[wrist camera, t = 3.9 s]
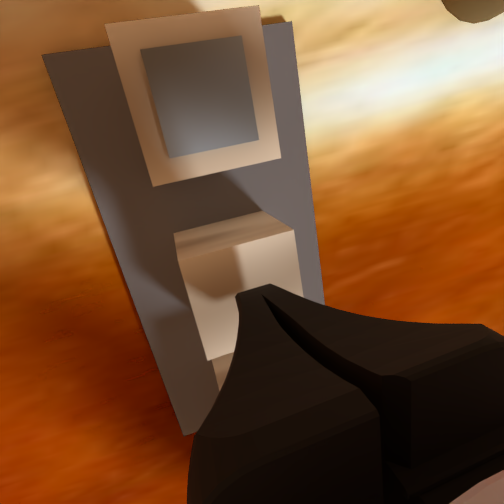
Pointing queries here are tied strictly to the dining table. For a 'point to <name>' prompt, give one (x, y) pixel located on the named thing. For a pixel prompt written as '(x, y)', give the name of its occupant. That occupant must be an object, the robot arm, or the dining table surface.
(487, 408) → the robot arm
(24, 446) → the dining table surface
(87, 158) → the mat
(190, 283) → the plain block
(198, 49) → the marked block 1
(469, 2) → the brown game pawn
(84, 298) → the dining table surface
